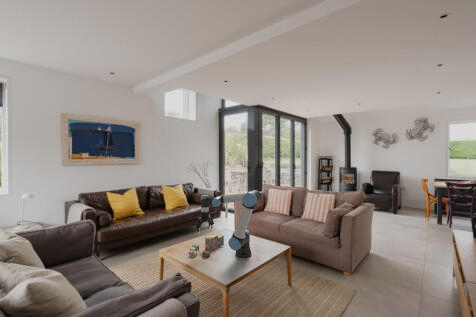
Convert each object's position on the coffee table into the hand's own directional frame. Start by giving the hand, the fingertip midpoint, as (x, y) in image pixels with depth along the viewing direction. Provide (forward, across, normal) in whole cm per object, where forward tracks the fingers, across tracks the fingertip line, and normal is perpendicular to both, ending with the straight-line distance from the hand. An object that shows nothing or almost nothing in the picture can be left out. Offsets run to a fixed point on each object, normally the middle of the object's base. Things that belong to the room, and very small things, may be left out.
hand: (205, 233), depth 222 cm
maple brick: (+19, +12, -2) cm, 22 cm away
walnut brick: (+19, +3, +6) cm, 20 cm away
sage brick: (+19, +8, -9) cm, 23 cm away
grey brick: (+19, +2, -14) cm, 23 cm away
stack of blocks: (+19, -16, -5) cm, 25 cm away
